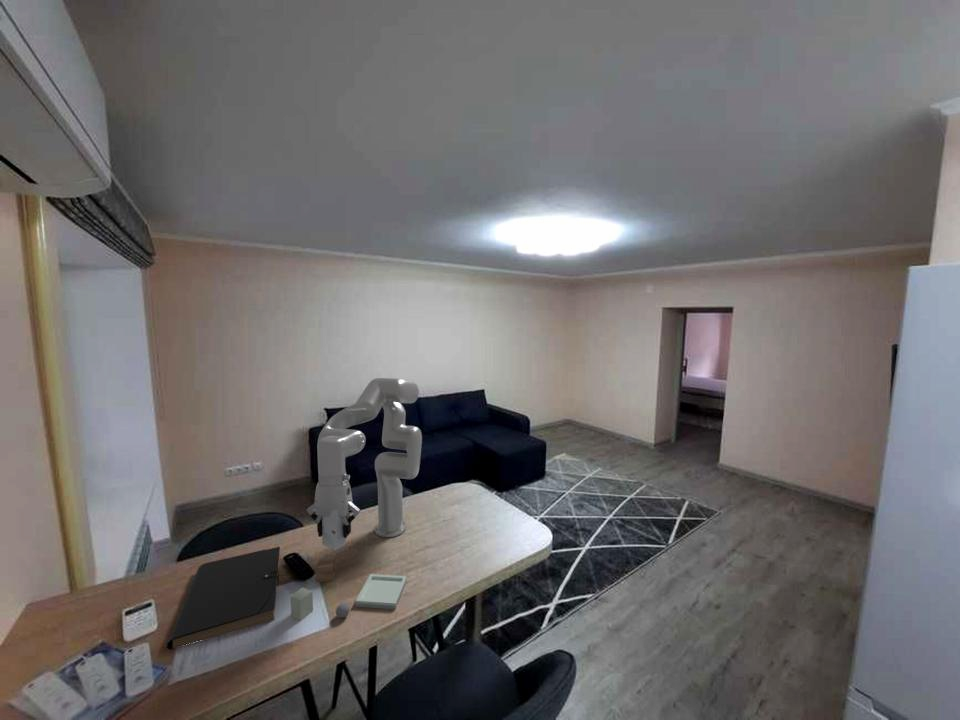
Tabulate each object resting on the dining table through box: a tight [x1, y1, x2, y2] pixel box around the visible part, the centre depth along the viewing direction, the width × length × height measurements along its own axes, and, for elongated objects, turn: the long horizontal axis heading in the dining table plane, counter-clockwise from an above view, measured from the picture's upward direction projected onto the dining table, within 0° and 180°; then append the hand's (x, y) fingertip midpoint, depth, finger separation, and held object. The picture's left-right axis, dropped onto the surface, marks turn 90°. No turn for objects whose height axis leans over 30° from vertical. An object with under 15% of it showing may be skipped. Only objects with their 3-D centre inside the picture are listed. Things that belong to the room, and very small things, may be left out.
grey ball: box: [335, 602, 350, 619], centre depth 107 cm, size 4×4×4 cm
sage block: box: [289, 587, 314, 622], centre depth 107 cm, size 4×4×6 cm
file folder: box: [166, 546, 281, 651], centre depth 115 cm, size 33×4×24 cm
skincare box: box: [321, 510, 347, 551], centre depth 113 cm, size 6×4×12 cm
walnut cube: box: [315, 556, 336, 583], centre depth 123 cm, size 5×5×5 cm
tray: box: [354, 573, 408, 610], centre depth 116 cm, size 12×12×2 cm
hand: (334, 534), depth 114 cm, fingers closed on skincare box, 7 cm apart
